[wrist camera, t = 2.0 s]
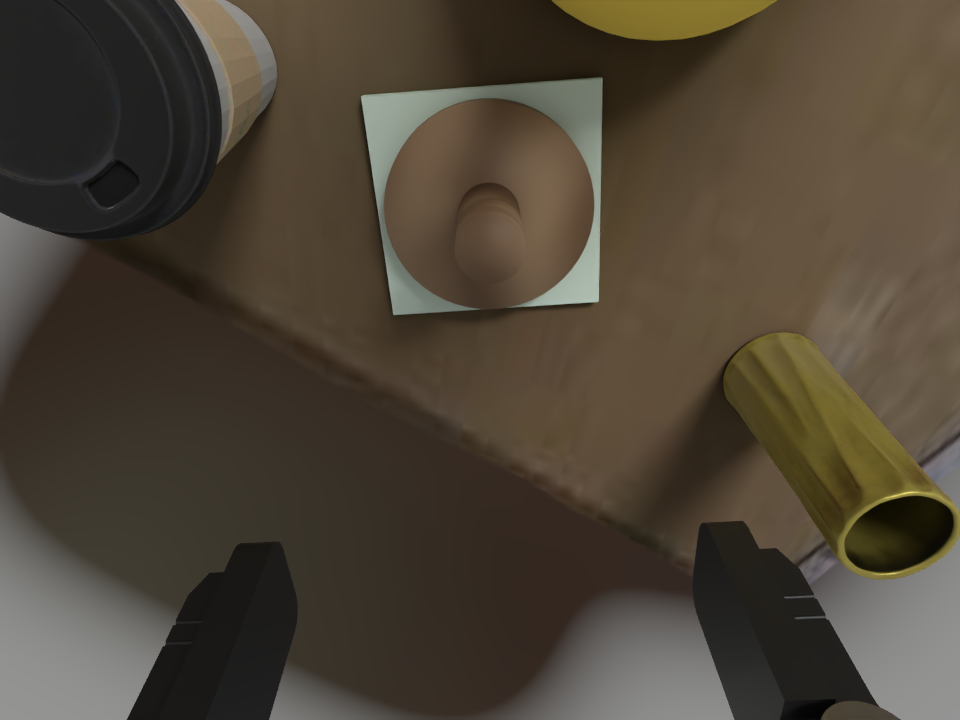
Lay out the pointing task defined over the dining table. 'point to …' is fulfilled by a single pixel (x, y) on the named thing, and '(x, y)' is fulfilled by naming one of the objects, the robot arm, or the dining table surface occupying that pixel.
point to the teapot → (661, 16)
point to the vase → (840, 459)
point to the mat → (405, 111)
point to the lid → (489, 204)
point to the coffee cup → (122, 108)
